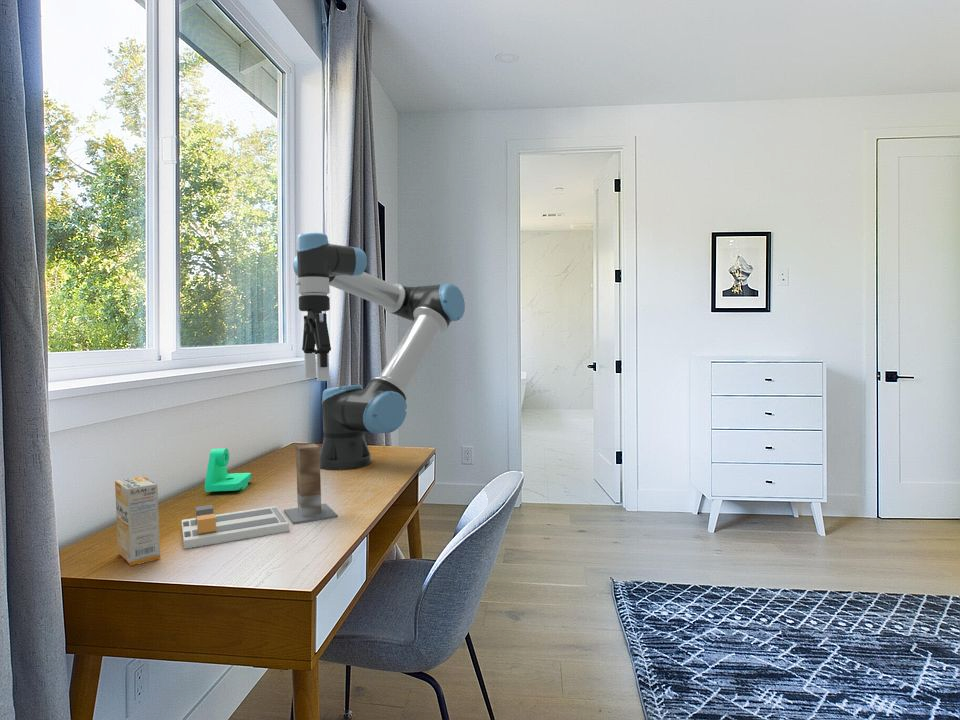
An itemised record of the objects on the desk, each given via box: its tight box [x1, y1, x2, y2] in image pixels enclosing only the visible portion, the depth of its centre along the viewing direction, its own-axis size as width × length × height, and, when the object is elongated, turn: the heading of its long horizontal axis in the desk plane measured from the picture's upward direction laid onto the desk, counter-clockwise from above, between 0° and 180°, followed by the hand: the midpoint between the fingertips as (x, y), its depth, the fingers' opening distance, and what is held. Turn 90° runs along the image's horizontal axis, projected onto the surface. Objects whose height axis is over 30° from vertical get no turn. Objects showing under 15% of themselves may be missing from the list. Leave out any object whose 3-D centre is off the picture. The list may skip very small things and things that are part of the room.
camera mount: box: [204, 447, 252, 493], centre depth 147 cm, size 12×8×10 cm, turn 5°
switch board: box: [181, 505, 290, 550], centre depth 114 cm, size 18×14×2 cm
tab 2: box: [197, 513, 216, 534], centre depth 109 cm, size 3×3×2 cm
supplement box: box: [114, 475, 161, 567], centre depth 100 cm, size 8×5×13 cm, turn 45°
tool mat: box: [283, 503, 339, 525], centre depth 123 cm, size 9×10×1 cm
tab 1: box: [195, 504, 215, 522], centre depth 115 cm, size 3×3×2 cm
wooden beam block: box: [295, 443, 322, 516], centre depth 123 cm, size 4×4×14 cm
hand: (316, 379), depth 148 cm, fingers open, 13 cm apart
